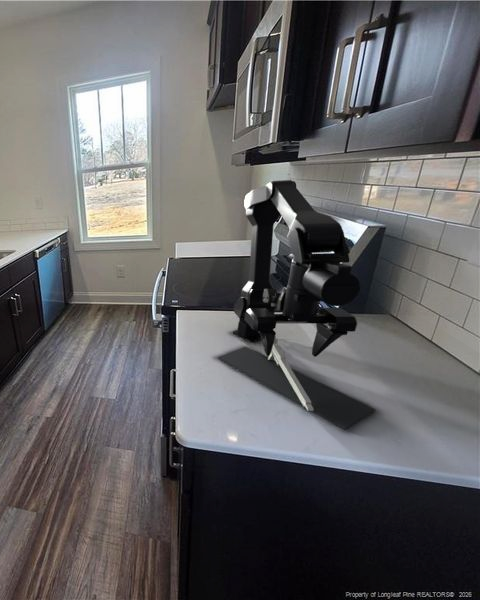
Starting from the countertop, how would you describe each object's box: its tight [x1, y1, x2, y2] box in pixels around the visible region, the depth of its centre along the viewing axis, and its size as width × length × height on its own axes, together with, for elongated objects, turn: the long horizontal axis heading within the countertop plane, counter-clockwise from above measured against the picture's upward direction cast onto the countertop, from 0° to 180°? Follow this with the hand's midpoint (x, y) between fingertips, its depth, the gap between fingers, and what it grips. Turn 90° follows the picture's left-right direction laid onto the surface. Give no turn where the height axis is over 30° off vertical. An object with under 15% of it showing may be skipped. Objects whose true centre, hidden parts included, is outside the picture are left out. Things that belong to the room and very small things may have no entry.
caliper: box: [264, 335, 314, 412], centre depth 69 cm, size 20×1×6 cm, turn 172°
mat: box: [217, 346, 376, 431], centre depth 70 cm, size 10×28×1 cm, turn 26°
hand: (290, 355), depth 68 cm, fingers open, 9 cm apart
